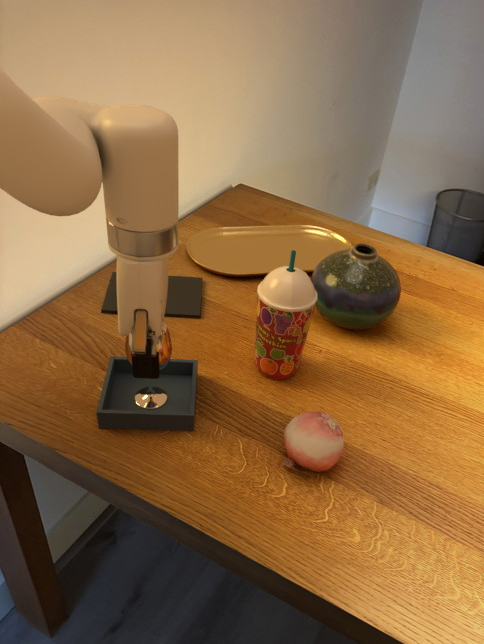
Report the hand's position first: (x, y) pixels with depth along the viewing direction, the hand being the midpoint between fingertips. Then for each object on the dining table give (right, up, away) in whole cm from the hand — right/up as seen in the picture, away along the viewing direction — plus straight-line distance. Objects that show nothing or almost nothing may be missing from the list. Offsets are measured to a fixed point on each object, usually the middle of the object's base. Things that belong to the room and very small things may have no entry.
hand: (149, 359), depth 71 cm
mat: (-5, +12, +24) cm, 27 cm away
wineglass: (-1, -5, +5) cm, 7 cm away
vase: (+29, +8, +26) cm, 40 cm away
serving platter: (+15, +22, +40) cm, 49 cm away
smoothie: (+16, -1, +13) cm, 21 cm away
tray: (-1, -6, +5) cm, 7 cm away
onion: (+21, -13, 0) cm, 24 cm away
